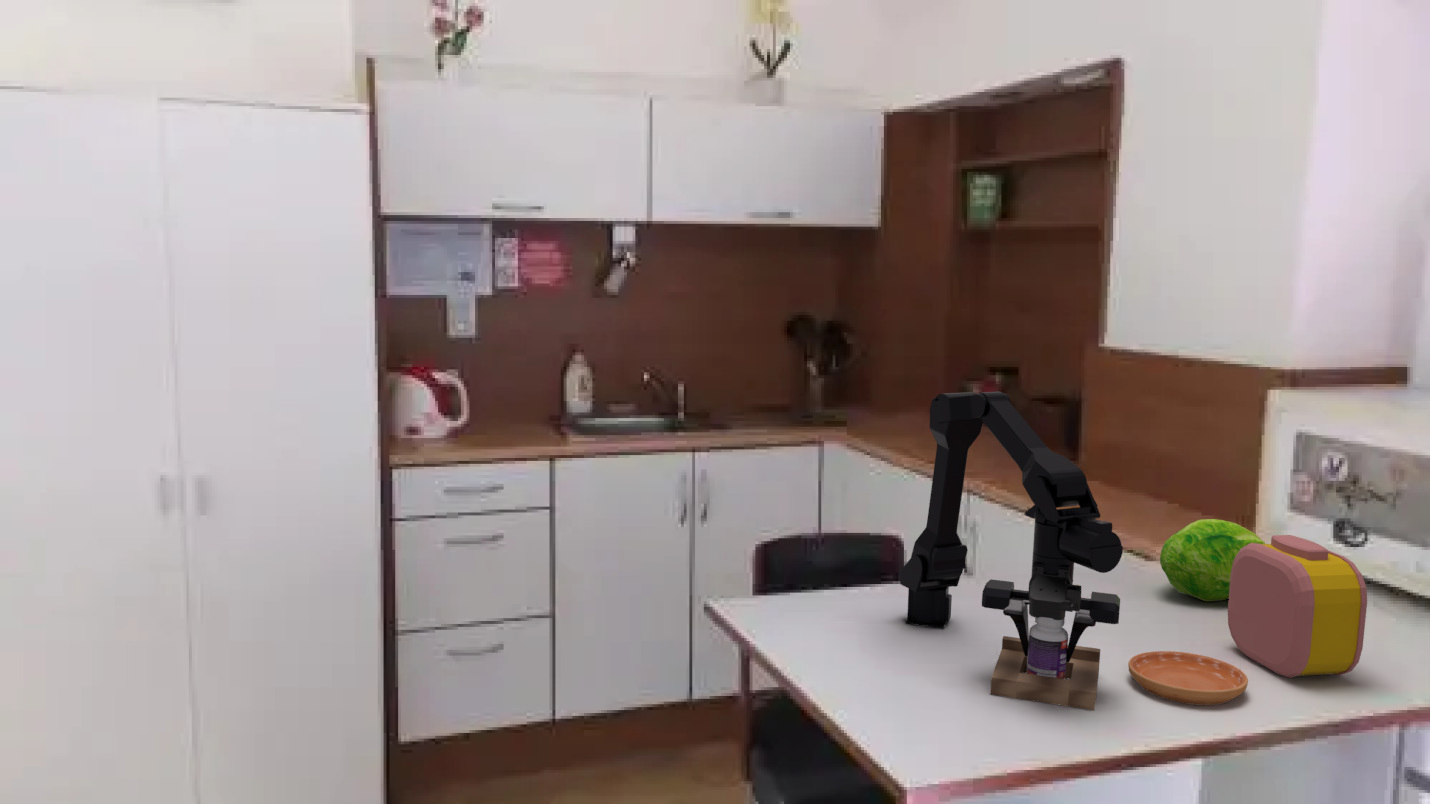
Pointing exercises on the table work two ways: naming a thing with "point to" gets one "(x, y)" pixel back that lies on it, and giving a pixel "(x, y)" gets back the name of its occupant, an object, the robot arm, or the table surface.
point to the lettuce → (1204, 557)
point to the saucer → (1187, 677)
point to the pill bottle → (1047, 648)
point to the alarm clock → (1297, 607)
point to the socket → (1043, 688)
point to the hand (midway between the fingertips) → (1046, 658)
